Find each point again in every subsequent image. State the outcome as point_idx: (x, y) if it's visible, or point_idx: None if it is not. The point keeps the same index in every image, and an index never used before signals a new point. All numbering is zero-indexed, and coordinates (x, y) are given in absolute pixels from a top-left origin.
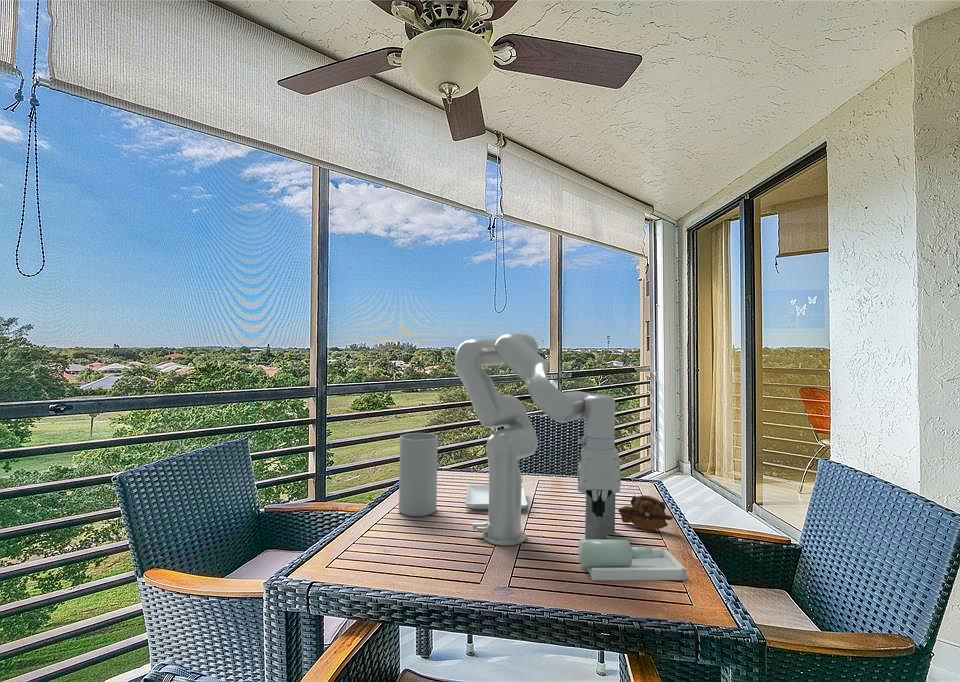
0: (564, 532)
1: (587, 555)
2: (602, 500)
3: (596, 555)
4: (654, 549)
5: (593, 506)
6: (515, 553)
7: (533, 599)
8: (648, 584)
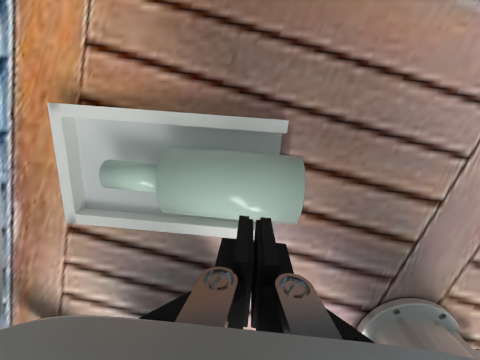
0: None
1: (293, 158)
2: (229, 281)
3: (267, 156)
4: (93, 218)
5: (289, 260)
6: (409, 263)
7: (469, 33)
8: (161, 89)
